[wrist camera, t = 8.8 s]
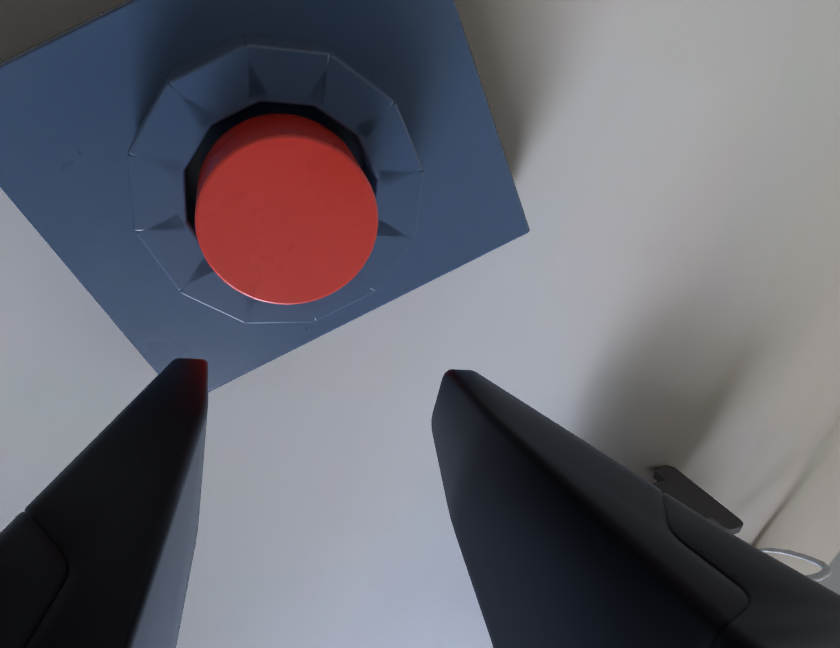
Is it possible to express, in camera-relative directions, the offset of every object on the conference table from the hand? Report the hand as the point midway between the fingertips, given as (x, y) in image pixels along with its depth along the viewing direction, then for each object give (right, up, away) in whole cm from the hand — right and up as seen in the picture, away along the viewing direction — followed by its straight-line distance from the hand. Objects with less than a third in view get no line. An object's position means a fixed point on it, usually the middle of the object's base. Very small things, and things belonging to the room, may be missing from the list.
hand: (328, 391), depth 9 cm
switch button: (-2, +4, +7) cm, 8 cm away
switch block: (-3, +6, +10) cm, 12 cm away
